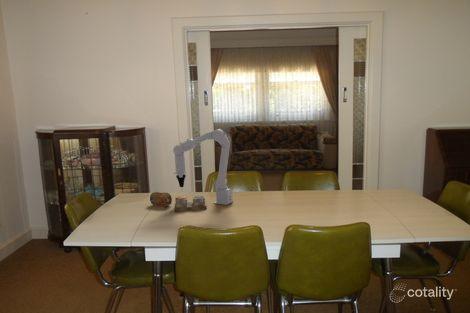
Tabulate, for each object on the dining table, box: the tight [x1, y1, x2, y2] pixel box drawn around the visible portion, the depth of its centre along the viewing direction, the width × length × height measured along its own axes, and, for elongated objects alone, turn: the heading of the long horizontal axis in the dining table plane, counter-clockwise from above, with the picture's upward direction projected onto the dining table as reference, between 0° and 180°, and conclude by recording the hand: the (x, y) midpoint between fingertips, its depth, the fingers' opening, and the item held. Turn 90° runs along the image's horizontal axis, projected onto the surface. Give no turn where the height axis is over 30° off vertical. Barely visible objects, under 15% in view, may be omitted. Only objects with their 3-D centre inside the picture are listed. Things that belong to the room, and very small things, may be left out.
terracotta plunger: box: [177, 195, 186, 200], centre depth 206 cm, size 4×4×4 cm
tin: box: [149, 191, 173, 208], centre depth 215 cm, size 15×3×8 cm, turn 62°
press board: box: [174, 195, 208, 213], centre depth 207 cm, size 18×10×6 cm, turn 98°
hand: (181, 186), depth 216 cm, fingers closed
